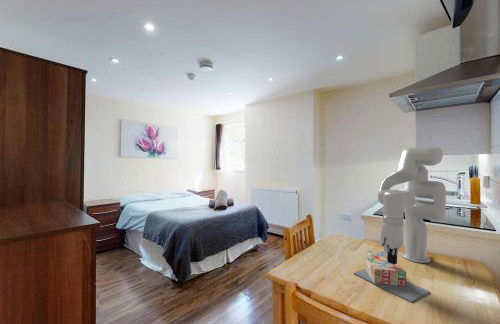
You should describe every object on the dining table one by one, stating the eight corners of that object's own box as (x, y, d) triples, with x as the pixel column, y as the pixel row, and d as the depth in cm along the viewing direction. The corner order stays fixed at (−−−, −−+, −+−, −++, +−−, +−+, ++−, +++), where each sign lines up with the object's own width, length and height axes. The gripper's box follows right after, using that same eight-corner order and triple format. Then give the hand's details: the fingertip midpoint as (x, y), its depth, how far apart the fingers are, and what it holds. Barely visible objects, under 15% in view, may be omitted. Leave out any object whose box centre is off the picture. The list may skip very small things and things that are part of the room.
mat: (372, 267, 111) (372, 266, 111) (430, 292, 91) (430, 291, 91) (353, 274, 105) (353, 272, 105) (411, 302, 84) (411, 301, 84)
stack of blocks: (386, 264, 114) (359, 261, 117) (386, 251, 114) (360, 249, 117) (406, 287, 93) (373, 283, 96) (406, 271, 93) (373, 268, 96)
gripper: (393, 217, 105) (392, 256, 105) (374, 220, 98) (373, 263, 98) (411, 220, 99) (410, 263, 99) (392, 224, 92) (391, 270, 92)
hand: (392, 262), depth 99 cm, fingers closed
